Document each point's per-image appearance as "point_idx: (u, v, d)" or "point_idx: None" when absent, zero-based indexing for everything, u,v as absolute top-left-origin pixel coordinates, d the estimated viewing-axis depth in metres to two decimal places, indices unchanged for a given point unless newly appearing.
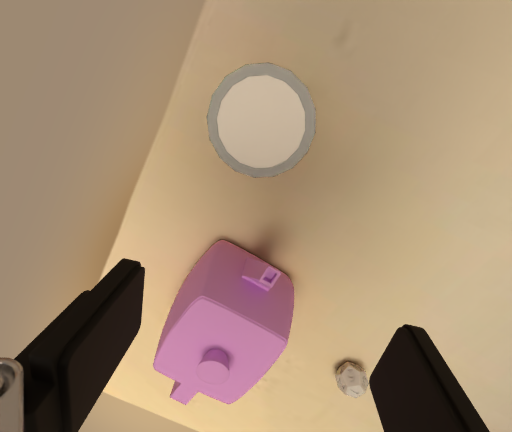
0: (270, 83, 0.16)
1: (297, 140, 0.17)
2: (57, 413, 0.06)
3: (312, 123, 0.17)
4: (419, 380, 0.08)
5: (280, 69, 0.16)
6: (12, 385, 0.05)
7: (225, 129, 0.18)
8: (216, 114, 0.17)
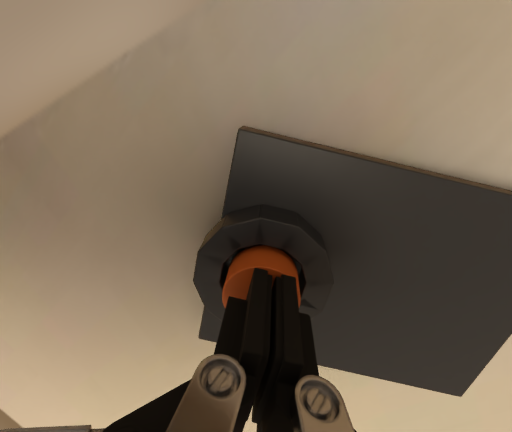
0: None
1: None
2: None
3: None
4: (273, 315, 0.09)
5: None
6: (239, 376, 0.07)
7: None
8: None
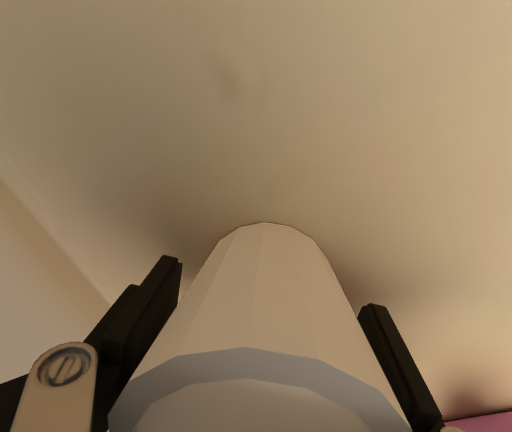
0: (178, 402, 0.06)
1: (359, 430, 0.06)
2: (119, 393, 0.07)
3: (350, 385, 0.05)
4: (375, 351, 0.09)
5: (159, 372, 0.05)
6: (89, 365, 0.06)
7: None
8: None
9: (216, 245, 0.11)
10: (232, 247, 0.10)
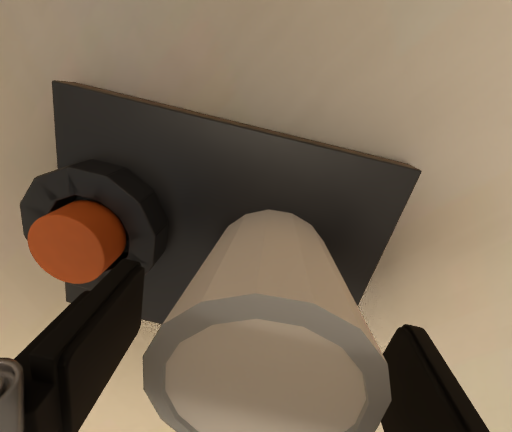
0: (200, 343, 0.07)
1: (346, 365, 0.07)
2: (57, 412, 0.06)
3: (337, 324, 0.06)
4: (419, 380, 0.08)
5: (186, 315, 0.07)
6: (12, 385, 0.05)
7: None
8: None
9: (225, 230, 0.13)
10: (240, 229, 0.11)
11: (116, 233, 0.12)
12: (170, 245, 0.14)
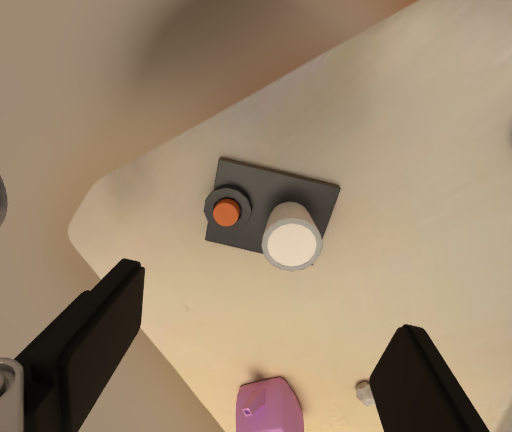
0: (278, 231, 0.31)
1: (311, 235, 0.31)
2: (57, 413, 0.06)
3: (309, 224, 0.30)
4: (419, 380, 0.08)
5: (275, 223, 0.30)
6: (12, 385, 0.05)
7: (282, 260, 0.32)
8: (273, 259, 0.32)
9: (274, 208, 0.36)
10: (281, 207, 0.35)
11: (239, 209, 0.35)
12: (251, 215, 0.38)
